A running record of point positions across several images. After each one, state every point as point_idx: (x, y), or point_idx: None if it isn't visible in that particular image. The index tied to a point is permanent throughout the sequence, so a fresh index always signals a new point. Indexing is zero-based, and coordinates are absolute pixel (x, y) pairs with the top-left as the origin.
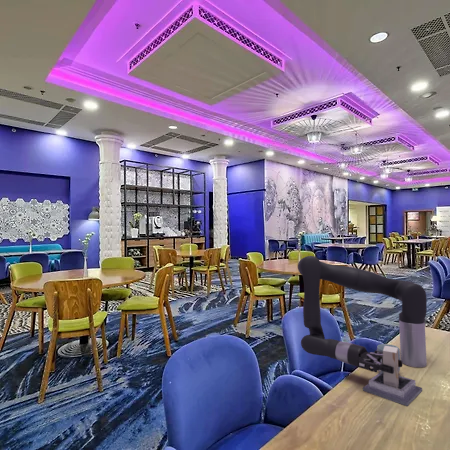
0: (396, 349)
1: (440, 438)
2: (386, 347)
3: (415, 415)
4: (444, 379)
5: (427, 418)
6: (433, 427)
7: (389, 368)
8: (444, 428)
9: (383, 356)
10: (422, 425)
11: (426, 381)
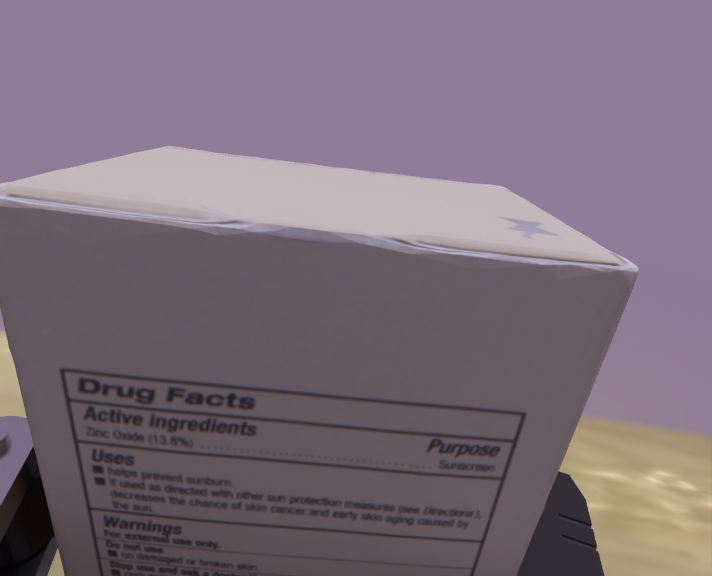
0: (290, 163)
1: (708, 446)
2: (240, 191)
3: (609, 524)
4: (3, 335)
5: (578, 469)
6: (643, 457)
7: (577, 488)
8: (601, 421)
9: (568, 422)
10: (684, 500)
11: (21, 410)
